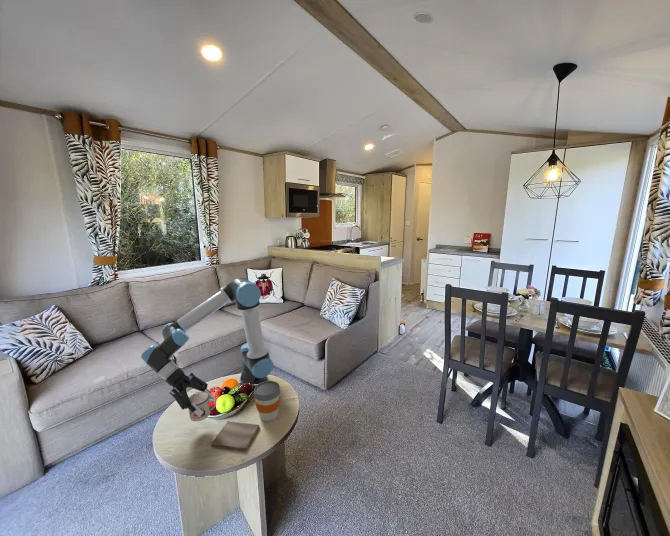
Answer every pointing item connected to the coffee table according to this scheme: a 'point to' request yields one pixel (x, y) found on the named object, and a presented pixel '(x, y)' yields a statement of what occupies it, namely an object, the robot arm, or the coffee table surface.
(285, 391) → the coffee table surface
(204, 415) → the teacup with lid
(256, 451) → the coffee table surface
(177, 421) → the coffee table surface
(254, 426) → the walnut board
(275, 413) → the reusable coffee cup
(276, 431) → the coffee table surface
